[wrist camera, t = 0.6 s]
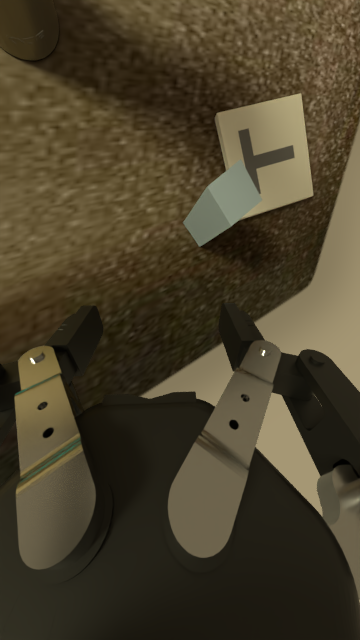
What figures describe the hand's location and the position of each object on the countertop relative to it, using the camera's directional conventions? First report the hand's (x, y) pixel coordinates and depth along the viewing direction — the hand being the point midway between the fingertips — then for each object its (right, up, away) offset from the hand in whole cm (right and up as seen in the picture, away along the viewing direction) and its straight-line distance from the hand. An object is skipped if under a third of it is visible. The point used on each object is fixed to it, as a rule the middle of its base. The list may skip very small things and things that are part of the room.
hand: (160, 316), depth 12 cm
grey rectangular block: (+5, +17, +20) cm, 27 cm away
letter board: (+17, +28, +21) cm, 39 cm away
